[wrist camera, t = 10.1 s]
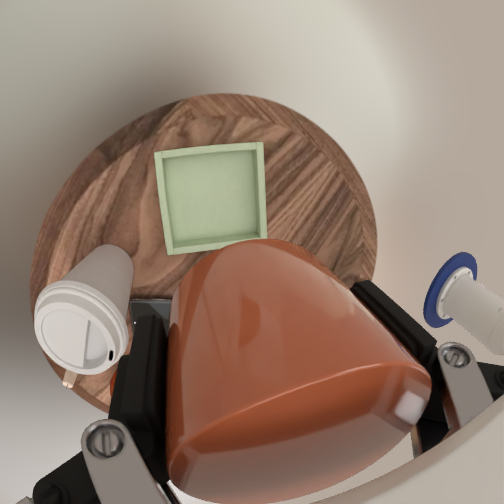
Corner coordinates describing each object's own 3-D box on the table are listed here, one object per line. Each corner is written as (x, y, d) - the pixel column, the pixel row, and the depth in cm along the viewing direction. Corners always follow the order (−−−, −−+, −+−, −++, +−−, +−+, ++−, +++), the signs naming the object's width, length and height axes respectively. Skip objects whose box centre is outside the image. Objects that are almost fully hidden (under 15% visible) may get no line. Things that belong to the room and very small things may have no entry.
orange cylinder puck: (340, 228, 10) (470, 320, 4) (326, 361, 12) (388, 463, 7) (152, 251, 9) (114, 407, 3) (187, 387, 11) (200, 514, 6)
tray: (257, 142, 31) (263, 141, 29) (262, 236, 36) (267, 243, 33) (156, 151, 29) (153, 152, 27) (169, 247, 34) (167, 255, 31)
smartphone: (243, 343, 40) (133, 343, 36) (242, 338, 41) (134, 338, 37) (249, 301, 37) (128, 299, 33) (247, 296, 38) (129, 295, 34)
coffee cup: (119, 312, 35) (95, 394, 22) (66, 269, 31) (15, 337, 18) (160, 266, 34) (146, 343, 21) (103, 216, 30) (50, 269, 17)
